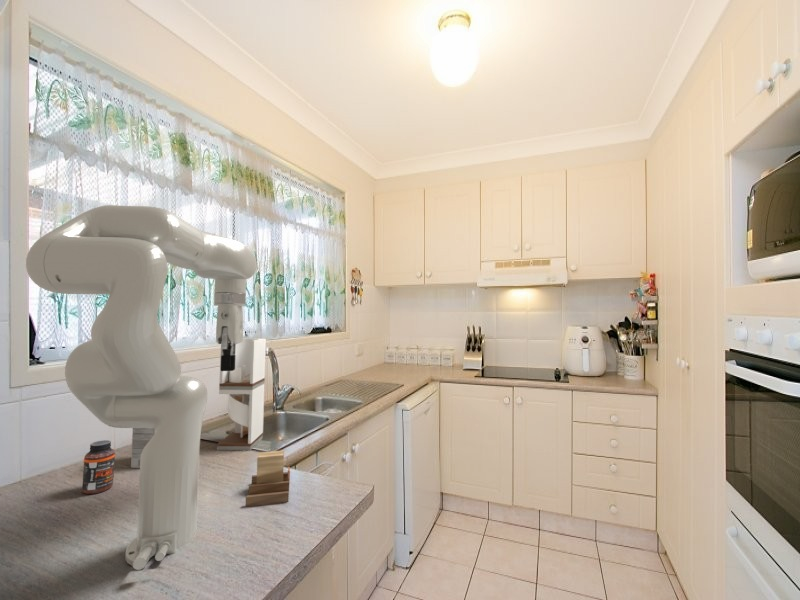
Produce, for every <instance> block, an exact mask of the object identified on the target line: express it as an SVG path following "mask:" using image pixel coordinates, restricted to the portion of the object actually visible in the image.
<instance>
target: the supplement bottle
mask: <svg viewBox="0 0 800 600" xmlns="http://www.w3.org/2000/svg"><path fill="white" fill-rule="evenodd" d="M111 441H112V440H107V439H105V440H104V439H103V440H98V441H94V442H92V443H90V445H89V451H88V452H87V453H86V454H85V456H84V457H83V458H84V459H83V472H82V486H81V488H82V490H81V491H82V493H84V494H88V495H93V494H99V493H102V492H105V491H107V490H110V488H112V487H113V486H114V477H115V459H116V452H115V450H114V449H113V448H111V446H112V442H111Z"/></svg>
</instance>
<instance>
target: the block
mask: <svg viewBox="0 0 800 600" xmlns="http://www.w3.org/2000/svg"><path fill="white" fill-rule="evenodd" d="M257 453H258V454H257V458H256V475H257V484H263V483H273V482H283V472H284V468H285V467H284V462H285V461H284V460H285V451H284V450H274V451H265V452H264V451H262V452H257Z"/></svg>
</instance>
